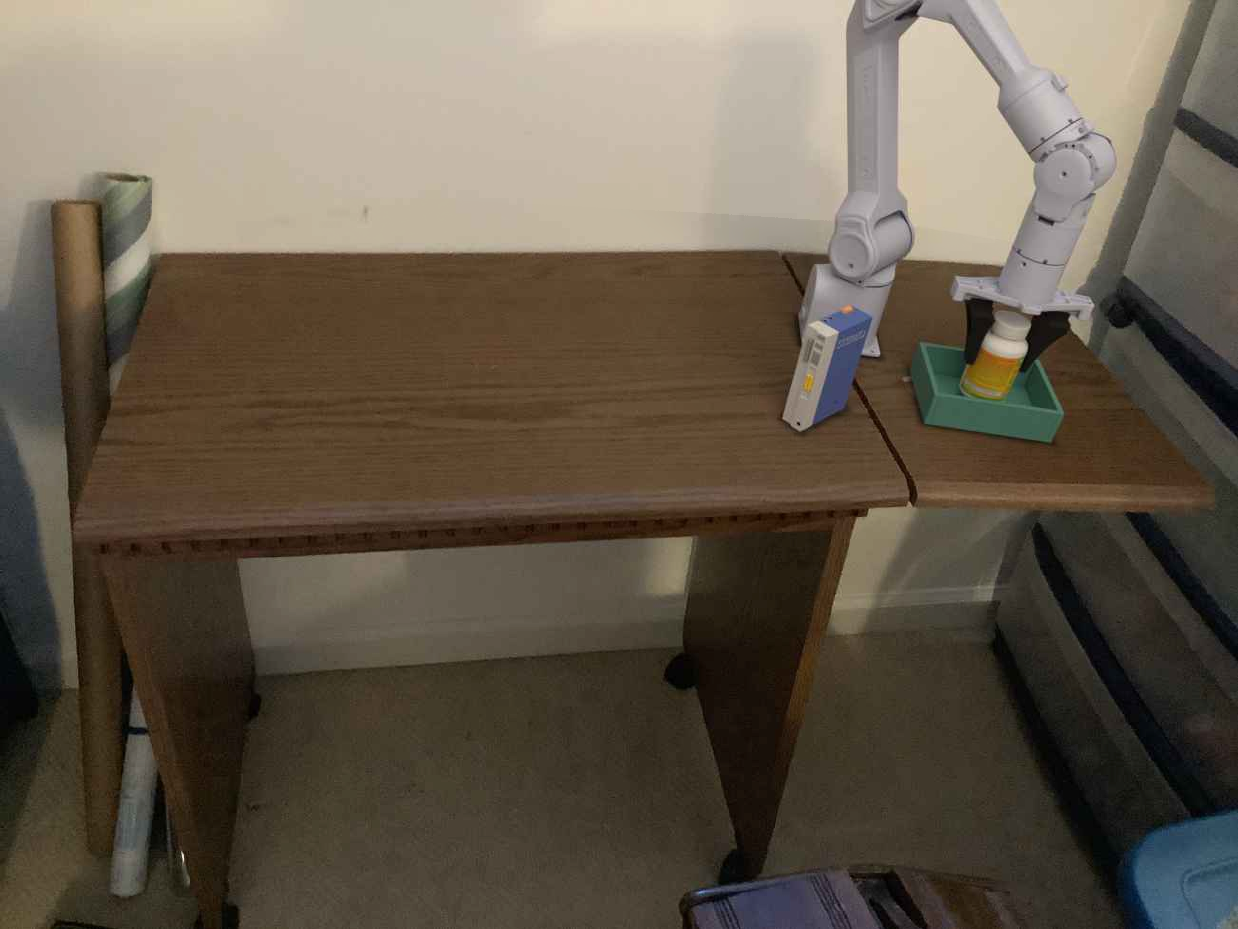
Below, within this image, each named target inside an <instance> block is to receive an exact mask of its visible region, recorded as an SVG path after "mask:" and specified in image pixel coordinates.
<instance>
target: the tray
mask: <svg viewBox="0 0 1238 929" xmlns="http://www.w3.org/2000/svg"><path fill="white" fill-rule="evenodd" d="M964 350H965V348H962V347H957V346H956V347H955V346H949V345H944V344H936V343H929V342H923V341H919V342H918V344H917V347H916V350H915V353H914V356H913V358H912V361H911V364H910V367H909V369H908V370H909V373H910V377H911V380H912V384H913V387H914V388H913V389H914V393H915V396H916V400H917V403H918V406H919V410H920V415H921V418H922V421H923V424H924V425H931V426H938V427H944V428H950V429H957V430H963V431H970V432H976V433H982V434H983V433H984V434H991V435H996V436H997V435H998V436H1004V437H1010V438H1017V439H1023V440H1030V441H1036V442H1042V443H1049V444H1051V443H1052V442H1053V439H1054V437H1055V435H1056V433H1057V431H1058V429H1059V427H1060V424H1061V423H1062V420H1063V419H1064V416H1065V412H1064V410H1063V408H1062V405H1061V403H1060V401H1059V399H1058V397H1057V395H1056V393H1055V390H1054V388H1053V386H1052V384H1051V382H1050V380H1049V378H1048V375H1047V374H1046V372H1045V369H1044V367H1043V365H1042V363H1041V361H1040V359H1036V360H1035V361H1034V363H1033V364H1032V365H1031V366H1030V368H1029V369H1028V370H1027V371H1026V373H1021V372H1019V371H1018V373H1017V376H1016V378H1015V380H1014V383H1013V385H1012V387H1011V389H1010V392H1009V394H1008V396H1007V398H1006V400H1005V402H999V401H992V400H986V399H979V398H973V397H966V396H964V395H963V394H962V392H961V391H960V389H959V383H960V380H961V377H962V375H963V372H964V370H965V367H966V365H967V364H966V361H965V358H964V356H963V354H964Z"/></svg>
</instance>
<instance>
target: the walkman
mask: <svg viewBox="0 0 1238 929" xmlns="http://www.w3.org/2000/svg"><path fill="white" fill-rule="evenodd" d="M872 318H873V317H872V316H870V315H868V314H866V313H865V312H863V311H861V310H859V309H857V308H855V307H854V306H847V307H845V308H842V310H841V311H839V312H836V313H834V314H832V315H829V316H827V317H825V318H822V319H820V320H818V321H816V322H813V323H811V324H809V325H808V326H807V329H806V333H805V337H804V340H803V344H802V343H801V348H800V352H799V355H798V359H797V361H796V366H795V369H794V372H793V373H794V374H793V376H792V377H793V378H792V381H791V385H790V389H789V393H788V395H787V399H786V403H785V406H784V411H783V415H782V418H781V419H782V420H784V421H785V422H786V423H788V424H790V426H791V427H792V428H793V429H795V430H797V431H798V432H802V431H805V430H807V429H808V428H810V427H812V426H814V425H815V424H817V423H819V422H821V421H823V420H825V419H827V418H829V417H830V416H833V415H834V414H836V413H838V412H841V411H842V410H844V409H845V406H846V403H847V402H848V398H849V394H850V391H851V389H852V385H853V382H854V378H855V375H856V372H857V369H858V365H859V363H860V359H861V356H862V355H861V353H862V350H863V347H864V344H865V340H866V337H867V334H868V331H869V328H870V325H871V321H872Z"/></svg>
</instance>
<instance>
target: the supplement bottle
mask: <svg viewBox="0 0 1238 929" xmlns="http://www.w3.org/2000/svg"><path fill="white" fill-rule="evenodd" d="M993 316H994V318H995V322H994V323H993V325H992V326H991V328H990V329H989V331H988V333H987V334H986V336H985V338H984V340H983V342H982V345H981V347H980V350H979V353H978V356H977V358H976V360H975V362H974V364H973V365H969V364H967V365H966V367H965V370H964V372H963V375H962V377H961V380H960V383H959V389H960V391H961V392H962V394H963V395H964V396H966V397H973V398H979V399H986V400H992V401H999V402H1005V400H1006V398H1007V396H1008V394H1009V392H1010V389H1011V387H1012V385H1013V383H1014V380H1015V378H1016V376H1017V373H1018V371H1019V369H1020V367H1021V364H1022V362H1023V360H1024V358H1025V355H1026V353H1027V350H1028V343H1027V341H1026V340H1025V338H1026V336H1027V334H1028V332H1029V329H1030V327H1031V321H1030V320H1029V319H1028V318H1027V317H1026V316H1025V315H1022V314H1021V313H1018V312H1015V311H1011V310H1002V309H1001V310H997V311H995V312H994V314H993Z"/></svg>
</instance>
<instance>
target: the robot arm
mask: <svg viewBox="0 0 1238 929" xmlns="http://www.w3.org/2000/svg"><path fill="white" fill-rule="evenodd" d="M997 4H998V3H997V2H996V1H995V0H855V1H854V2H853V5H852V8H851V10H850V13H849V16H848V18H847V20H846V25H845V26H846V27H845V44H846V45H845V48H846V51H845V54H846V55H845V56H846V57H845V58H846V62H845V64H846V65H845V66H846V125H847V126H846V133H847V134H846V135H847V138H846V139H847V140H846V141H847V194H846V196H845V198H844V199H843V201H842V203H841V204H840V206H839V208H838V209H837V211H836V213H835V214H834V229H833V234H832V236H831V238H830V240H829V242H828V247H827V255H828V260H829V263H814V264H813V266H812V268H811V270H810V274H809V277H808V281H807V284H806V288H805V292H804V296H803V299H802V304H801V306H800V310H799V312H798V315H797V317H798V324H799V325H798V326H799V332H800V333H799V334H800V343H801V345H802V344H803V340H804V337H805V333H806V329H807V326H808V325H809V324H811V323H813V322H816V321H818V320H820V319H822V318H825V317H827V316H829V315H832V314H834V313H836V312H839V311H841V310H842V308H845V307H847V306H854V307H855V308H857V309H859V310H861V311H863V312H865V313H866V314H868V315H870V316H872V317H873V318H872V321H871V325H870V328H869V331H868V334H867V337H866V340H865V344H864V347H863V350H862V353H861V356H866V357H872V358H879V357H880V356H881V350H880V346H879V342H878V341H879V340H878V336H877V332H878V329H879V327H880V323H881V319H882V317H883V313H884V310H885V307H886V304H887V302H888V299H889V295H890V292H891V289H892V286H893V283H894V280H895V276H896V268H897V265H898V262H899V261H901V260H903V259H904V258H906V257H907V256H908V255H909V254H910V253H911V251H912V249H913V247H914V245H915V240H916V238H915V237H916V234H915V229H914V225H913V223H912V220H910V216H909V210H908V204H909V203H908V199H907V198H906V197H905V195H904V194H903V193H902V191H901V190H900V189H899V187H898V184H899V183H898V181H899V180H898V173H899V172H898V167H899V164H898V163H899V162H898V159H899V158H898V157H899V71H900V70H899V69H900V68H899V63H900V62H899V61H900V60H899V58H900V56H899V55H900V53H899V50H900V48H899V47H900V44H899V43H900V39H901V37H902V36H903V35H904V34H905V33H906V32H907V31H908V30H909V29H910V28H911V27H912V26H913V25H914V24H915V23H916V21H918V20H919V18H925V19H929V20H933V21H937V22H942V23H946V24H950V25H952V26H953V28H954V29H955V30H956V32H958V34H959V35H960V36H961V38H962V40H964V42H965V43H966V45H967V46H968V47H969V48H970V50H971V52H973V54H974V55H975V57H976V58H977V59H978V61H979V62H980V63H981V65H982V66H983V67H984V68H985V70H986V71H987V73H988V74H989V75H990V77H991V78H992V79H993V81H994V82H995V83H996V85H997V86H998V87H999V93H998V98H997V110H998V111H999V113H1000V115H1001V116H1002V117H1003V119H1004V121H1005V122H1006V124H1007V125H1008V126H1009V128H1010V130H1011V131H1012V132H1013V135H1015V137H1016V138H1017V140H1018V141H1019V143H1020V145H1021V146H1022V147H1023V149H1024V151H1025V152H1026V154H1027V155H1028V157H1029V158H1030V160H1031V161H1032V162H1033V163H1034V167H1033V173H1032V174H1033V175H1032V176H1033V184H1034V187H1035V190H1034V193H1033V195H1032V197H1031V201H1029V204H1028V205H1027V208H1026V211H1025V213H1024V215H1023V218H1022V221H1021V223H1020V226H1019V228H1018V231H1017V233H1016V236H1015V238H1014V241H1013V243H1012V246H1011V248H1010V251H1009V253H1008V256H1007V257H1006V260H1005V263H1004V265H1003V268H1002V270H1001V273H1000V276H982V277H979V276H977V277H975V276H974V277H968V276H958V275H955V276H954V278H953V282H952V284H951V287H950V290H949V293H950V297H951V298H952V300H953V301H955V302H963V301H964V306H965V314H966V315H965V316H966V334H965V335H966V336H965V346H964V349H965V350H964V354H963V356H964V358H965V361H966V364H969V365H973V364H974V362H975V360H976V358H977V356H978V353H979V350H980V347H981V345H982V342H983V340H984V338H985V336H986V334H987V333H988V331H989V329H990V328H991V326H992V325H993V323H994V322H995V318H994V314H993V312H994V308H995V307H993V305H998V306H1005V307H1010V308H1011V307H1012V308H1015V309H1019V310H1020V313H1023V314H1027V315H1032V317H1031V321H1030V323H1031V327H1030V329H1029V332H1028V334H1027V336H1026V338H1025V340H1026V341H1027V343H1028V350H1027V353H1026V355H1025V358H1024V360H1023V362H1022V364H1021V367H1020V369H1019V372H1021V373H1026V371H1027V370H1028V369H1029V368H1030V366H1031V365H1032V364H1033V363H1034V361H1035V360H1038V358H1039V357H1040V356H1041V355H1042V354H1043V353H1044V352H1045V351H1046V350H1047V349H1048V348H1049V347H1050V346H1051V345H1053V344H1054V343H1055V342H1057V341H1058V340H1060V339H1061V338H1063V337H1064V336H1066V335H1067V334H1069V333H1068V332H1069V331H1070V329H1071V327H1072V324H1071V322H1070V320H1069V319H1070V317H1075V318H1076V319H1077V321H1083V322H1088V320H1089V318H1090V317H1091V314H1092V311H1093V310H1094V308H1095V304H1094V303H1093V301H1092V299H1091V298H1090V296H1087V295H1081V294H1077V293H1074V292H1071V291H1066V290H1063V289H1059V288H1058V286H1059V284H1060V282H1061V280H1062V277H1063V275H1064V273H1065V270H1066V268H1067V266H1068V264H1069V262H1070V259H1071V257H1072V254H1073V252H1074V250H1075V248H1076V246H1077V243H1078V241H1079V239H1080V236H1081V234H1082V232H1083V229H1084V227H1085V225H1086V223H1087V220H1088V215H1089V213H1090V211H1091V209H1092V207H1093V205H1094V202H1095V199H1096V197H1097V193H1096V192H1095V191H1097V190H1099V189H1101V188H1102V187H1103V186H1105V185H1106V183H1108V182H1109V180H1110V179H1111V178H1112V177H1113V175H1114V173H1115V172H1116V168H1117V166H1118V155H1117V151H1116V148H1115V147H1114V145H1113V139H1112V138H1111V137H1110V136H1109V135H1107V134H1106V133H1104V132H1102V131H1100V130H1095V129H1096V126H1095V125H1094V123H1093V122H1092V120H1091V119H1088V120H1086V119H1085V118H1084V116H1083V114H1081V112H1080V111H1079V109H1078V107H1077V106H1076V104H1075V103H1074V101H1073V100H1072V98H1071V97H1070V95H1069V93H1068V92H1067V91H1066V89H1067V88H1069V86H1070V83H1069V81H1068V79H1066V77H1065V76H1064V74H1059V75H1057V76H1056V75H1055V72H1053V70H1052V69H1051V68H1047V67H1040V66H1035V65H1033V64H1032V63H1031V62H1030V59H1029V58H1028V56H1027V55H1026V53H1025V51H1024V49H1023V47H1022V46H1021V44H1020V42H1019V40H1018V39H1017V37H1016V35H1015V33H1014V32H1013V30H1012V28H1011V27H1010V25H1009V23H1008V21H1007V20H1006V18H1005V16H1004V15H1003V13H1002V11H1001V9H1000V7H999V5H997Z"/></svg>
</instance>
